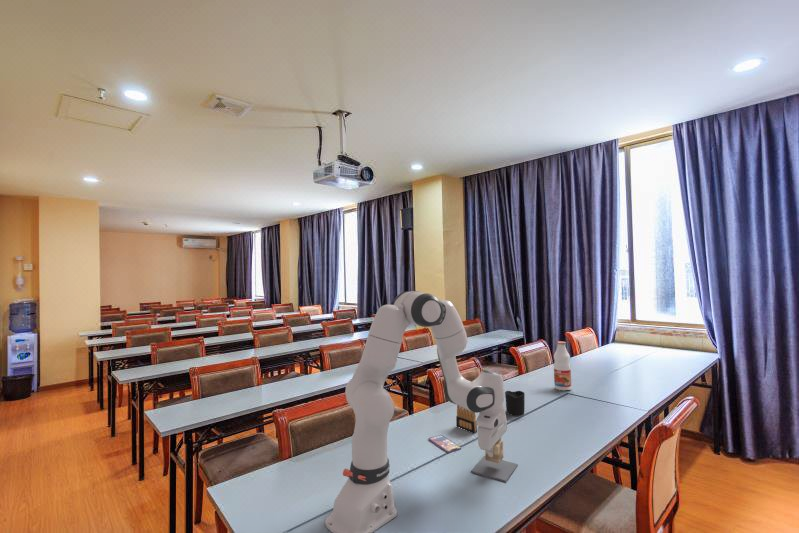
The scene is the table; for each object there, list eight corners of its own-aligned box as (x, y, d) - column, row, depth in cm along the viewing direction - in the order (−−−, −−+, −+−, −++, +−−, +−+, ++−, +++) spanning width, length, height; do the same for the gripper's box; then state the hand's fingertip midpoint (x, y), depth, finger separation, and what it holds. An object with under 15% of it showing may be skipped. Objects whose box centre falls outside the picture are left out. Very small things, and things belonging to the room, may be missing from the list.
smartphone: (441, 436, 170) (462, 450, 156) (427, 440, 166) (447, 454, 153) (441, 434, 170) (462, 447, 156) (427, 438, 166) (447, 451, 153)
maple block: (498, 463, 136) (498, 446, 137) (485, 460, 139) (484, 443, 139) (503, 457, 141) (502, 441, 141) (490, 454, 143) (489, 438, 143)
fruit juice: (574, 389, 228) (572, 341, 228) (566, 392, 222) (564, 344, 223) (559, 385, 235) (558, 340, 236) (551, 388, 230) (549, 342, 230)
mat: (506, 482, 131) (506, 480, 131) (470, 472, 138) (470, 470, 138) (517, 465, 142) (517, 464, 142) (484, 457, 149) (484, 455, 149)
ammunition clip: (477, 432, 172) (476, 405, 172) (474, 433, 170) (473, 406, 171) (458, 425, 180) (458, 400, 180) (456, 426, 179) (455, 401, 179)
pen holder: (518, 417, 187) (517, 397, 187) (502, 412, 194) (501, 393, 194) (528, 412, 193) (528, 392, 193) (512, 408, 200) (511, 388, 200)
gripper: (494, 404, 151) (495, 439, 150) (473, 422, 134) (475, 462, 133) (510, 407, 147) (511, 443, 147) (491, 426, 130) (492, 467, 130)
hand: (494, 452), depth 140 cm, fingers closed on maple block, 5 cm apart
